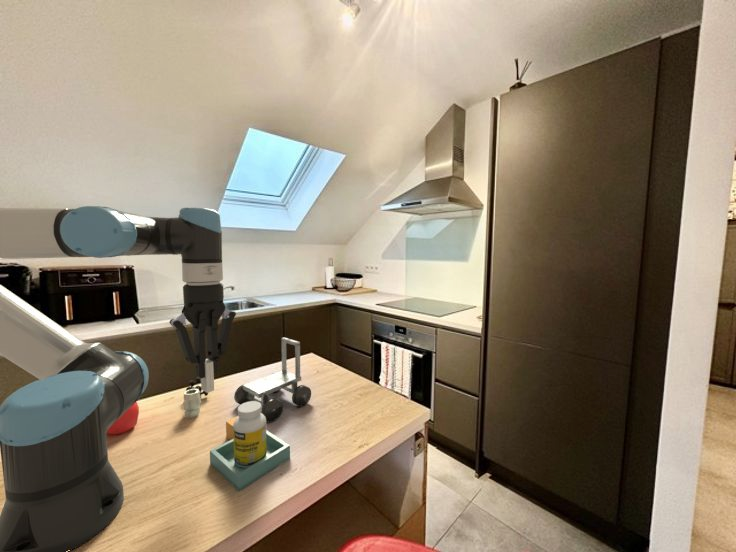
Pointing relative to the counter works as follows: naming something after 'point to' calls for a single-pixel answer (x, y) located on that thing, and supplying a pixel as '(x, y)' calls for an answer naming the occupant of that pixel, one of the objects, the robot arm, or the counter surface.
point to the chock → (230, 428)
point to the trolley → (276, 387)
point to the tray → (245, 476)
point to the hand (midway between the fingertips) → (207, 389)
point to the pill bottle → (249, 435)
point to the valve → (193, 399)
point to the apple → (125, 421)
